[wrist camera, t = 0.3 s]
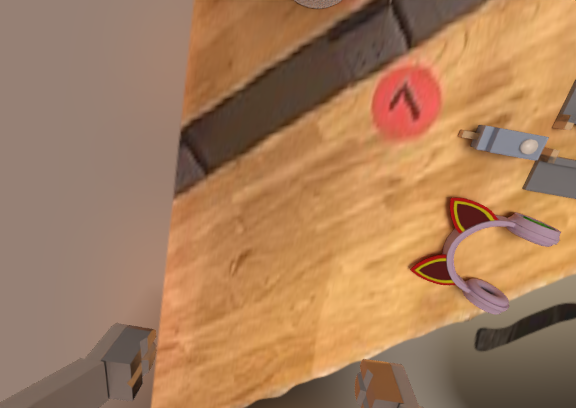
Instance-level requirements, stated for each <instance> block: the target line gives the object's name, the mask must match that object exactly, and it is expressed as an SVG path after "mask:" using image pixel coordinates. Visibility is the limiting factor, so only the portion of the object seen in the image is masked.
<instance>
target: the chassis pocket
mask: <svg viewBox="0 0 576 408" xmlns="http://www.w3.org/2000/svg"><path fill="white" fill-rule="evenodd" d="M574 124H575V125H576V80H575V82H574V84H573V86H572V88H571V90H570V92H569V94H568V96H567V98H566V100H565V103H564V105H563V107H562V109H561V111H560V113H559V115H558V117H557V119H556V121H555V123H554V125H553V127H552V128H557V129H564V130H571V129H572V127H573V125H574ZM559 152H560V151H559V150H554V149H549V148H543V150H542V152H541V154H540V156H539V158H538V160H536V162H535V164H534V166H533V168H532V170H531V172H530V174H529V176H528V178H527V180H526V182H525V184H524V186H523V188H522V189H525V190H530V191H535V192H541V193H546V194H552V195H557V196H563V197H569V198H574V199H576V160H572V159H567V158H561V157H557V156H558V154H559Z"/></svg>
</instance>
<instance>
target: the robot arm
mask: <svg viewBox="0 0 576 408" xmlns="http://www.w3.org/2000/svg"><path fill="white" fill-rule="evenodd" d="M295 1H296V2H297V3H299V4H301V5H303V6H306V7H309V8H326V7H330V6H333V5H335V4H337V3H339V2H340V1H342V0H295ZM155 338H156V330H154V329H149V328H142V327H137V326H131V325H125V324H119V323H116V324H114V325H113V326H111V328H110V329H109V330H108V331H107V333H106V334H105V335H104V336H103V337H102V339H101V340H100V341H99V342H98V343H97V345H96V346H95V347H94V348H93V349H92V351H91V352H90V353H89V354H88V355H87V357H86V358H85V359H82V358H80V359H78V360H77V361H75V362H73V363H71V364H69V365H67V366H66V367H64V368H62V369H60V370H58V371H56V372H55V373H53V374H51V375H49V376H47V377H45V378H44V379H42V380H40V381H38V382H36V383H34V384H33V385H31V386H29V387H27V388H25V389H24V390H22V391H20V392H18V393H17V394H14V395H13V396H11V397H9V398H7V399H5V400H3V401H2V402H0V408H99V407H101V406H102V405H103V404H104V403H106V402H107V401H108V399H117V400H126V401H133V400H134V398H135V396H136V395H137V393H138V391H139V389H140V387H141V385H142V383H143V381H142V377H143V376H144V375H145V374H147V373H148V372H149V371H150V369H151V367H152V365H153V362H154V360H155V357H156V351H157V345H156V344H155V343H154V340H155ZM360 369H361V372H360V373H358V374H357V377H356V380H355V396H356V401H357V403H358V404H359V405H360V407H361V408H423V407H420V406H419V405H418V403H417V400H416V397H415V395H414V392H413V390H412V387H411V384H410V382H409V380H408V377H407V374H406V372H405V369H404V367H403V366H402V364H395V363H387V362H382V361H374V360H366V359H363V360H362V361H361V364H360Z"/></svg>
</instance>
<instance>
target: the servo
mask: <svg viewBox="0 0 576 408" xmlns="http://www.w3.org/2000/svg"><path fill="white" fill-rule="evenodd" d="M459 137H463V138H469V139H473V141H472V143H471V146H470V147H474V149H478V150H483V151H487V152H491V153H497V154H502V155H508V156H513V157H519V158H524V159H530V160H538V158H539V156H540V154H541V152H542V150H543V148H544V146H545V144H546V142H547V140H548V138H549V137H545V136H539V135H534V134H528V133H523V132H518V131H512V130H507V129H501V128H495V127H490V126H483V125H479V126H478V128H477V131H476V133H475V132H470V131H465V130H460V133H459Z"/></svg>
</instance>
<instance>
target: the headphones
mask: <svg viewBox="0 0 576 408" xmlns="http://www.w3.org/2000/svg"><path fill="white" fill-rule="evenodd" d="M450 213H451V217H452V221H453V224H454V226H455V228H456V229H454V230H453V231H452V232H451V234H450V235H449V236H448V238H447V240H446V242H445V244H444V247H443V254H442V255H436V256H433V257H430V258H427V259H425V260H423V261H421V262H419V263H417V264H416V265H415V266H413V267H412V268H411V269H410V270H411V271H412V272H413V273H415V274H416V275H417V276H419V277H421V278H423V279H425V280H427V281H430V282H433V283H436V284H440V285H457V286H458V287H459V288H461V289H462V290H463V294H464V296H465V297H466V298H467V299H468V300H469V301H470V302H471V303H473V304H474V305H476V306H477V307H479V308H480V309H482V310H484V311H486V312H488V313H491V314H495V315H498V314H500V313H501V312H503V311H506V310H507V309H508V308H509V304H508V303H509V302H508V298H507V297H506V296H505V295H504V294H503V293H502V292H501V291H500V290H499V289H497V288H496V287H494V286H493V285H491V284H489V283H487V282H485V281H482V280H480V279H475V278H472V279H469V280H466V281H463V279H462V278H461V277H460V276H459V275H458V274H456V271H455V267H454V253H455V250H456V248H457V246H458V245H459V243H460V242H461V241H462V240H463V239H465V238H466V237H467V236H469V235H470V234H472V233H474V232H476V231H478V230H481V229H484V228H488V227H495V226H502V227H506V228H507V229H508V230H509V231H511V232H512V233H514V234H516V235H518V236H519V237H521V238H524V239H526V240H528V241H530V242H533V243H535V244H538V245H541V246H546V247H549V246H552V245H553V244H557V243H558V242H559V236H560V233H561V232H560V231H559V230H557V229H555V228H553V227H551V226H549V225H547V224H545V223H543V222H540V221H538V220H536V219H533V218H531V217H528V216H525V215H523V214H519V213H514V214H513V215H512V216H510V217H508V218H506V217H503V216H497V215H494V213H493V212H492V211H491V210H489V209H488V208H487V207H485V206H483V205H481V204H479V203H477V202H474V201H471V200H468V199H464V198H451V201H450Z"/></svg>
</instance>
